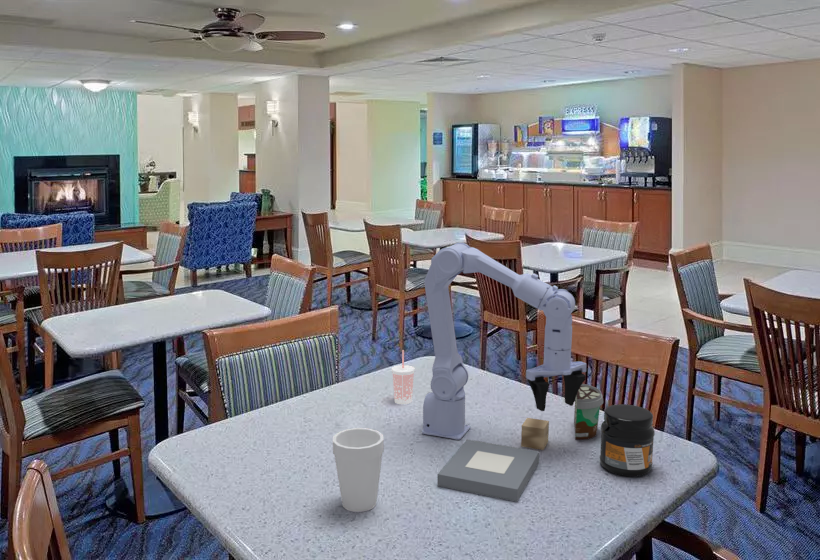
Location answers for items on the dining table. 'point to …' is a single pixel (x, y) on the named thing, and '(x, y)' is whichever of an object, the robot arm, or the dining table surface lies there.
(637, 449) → the supplement container
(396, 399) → the beverage cup
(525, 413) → the dining table surface
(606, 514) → the dining table surface
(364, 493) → the foam cup
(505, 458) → the plinth
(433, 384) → the robot arm
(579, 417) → the food container
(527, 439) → the oak cube
